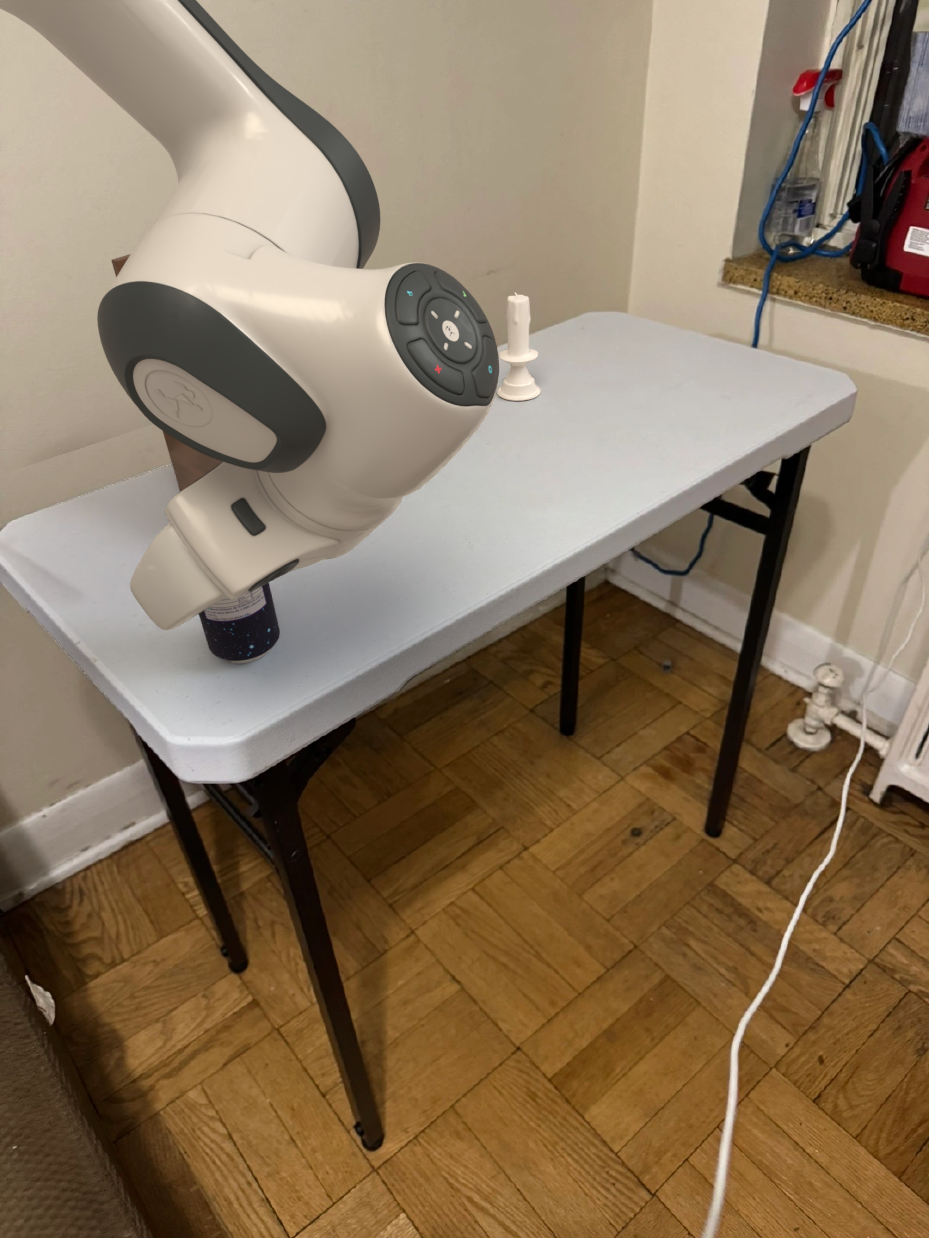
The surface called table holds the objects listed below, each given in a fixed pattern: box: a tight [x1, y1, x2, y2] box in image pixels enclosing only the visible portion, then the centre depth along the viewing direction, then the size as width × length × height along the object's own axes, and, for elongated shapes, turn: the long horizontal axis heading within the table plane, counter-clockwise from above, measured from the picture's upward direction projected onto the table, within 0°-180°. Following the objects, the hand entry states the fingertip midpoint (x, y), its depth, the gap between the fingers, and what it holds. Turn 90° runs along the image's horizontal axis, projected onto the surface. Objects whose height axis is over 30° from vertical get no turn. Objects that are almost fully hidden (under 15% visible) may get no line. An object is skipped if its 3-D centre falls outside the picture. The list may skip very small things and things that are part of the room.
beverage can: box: [198, 582, 281, 664], centre depth 66 cm, size 6×6×12 cm
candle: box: [496, 291, 542, 402], centre depth 102 cm, size 5×5×12 cm
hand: (243, 565), depth 63 cm, fingers open, 8 cm apart
